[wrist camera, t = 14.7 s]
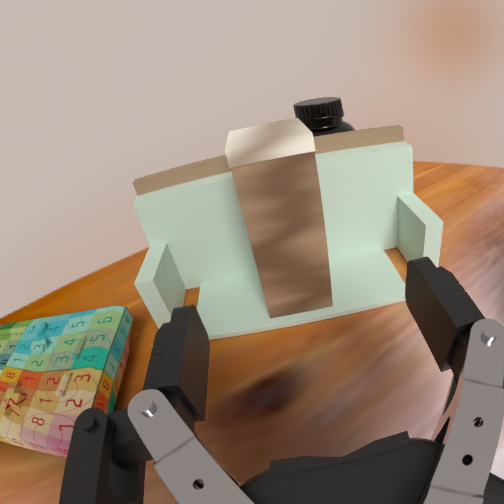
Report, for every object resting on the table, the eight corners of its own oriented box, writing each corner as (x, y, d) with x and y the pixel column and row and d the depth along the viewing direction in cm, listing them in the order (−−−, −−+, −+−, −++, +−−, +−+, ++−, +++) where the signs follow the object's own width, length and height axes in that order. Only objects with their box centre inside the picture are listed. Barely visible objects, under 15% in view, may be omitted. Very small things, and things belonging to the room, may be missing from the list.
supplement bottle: (353, 190, 38) (340, 93, 31) (372, 215, 32) (362, 99, 25) (298, 200, 38) (280, 102, 32) (309, 227, 32) (288, 110, 26)
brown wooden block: (269, 319, 22) (224, 150, 16) (265, 275, 27) (229, 131, 20) (333, 306, 22) (312, 132, 16) (320, 265, 26) (297, 117, 20)
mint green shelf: (157, 346, 23) (94, 231, 17) (175, 276, 30) (135, 179, 25) (444, 289, 21) (459, 157, 15) (401, 231, 28) (398, 125, 23)
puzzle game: (69, 444, 12) (-72, 405, 14) (117, 477, 14) (-39, 435, 16) (120, 297, 22) (-24, 320, 23) (146, 340, 24) (0, 351, 26)
